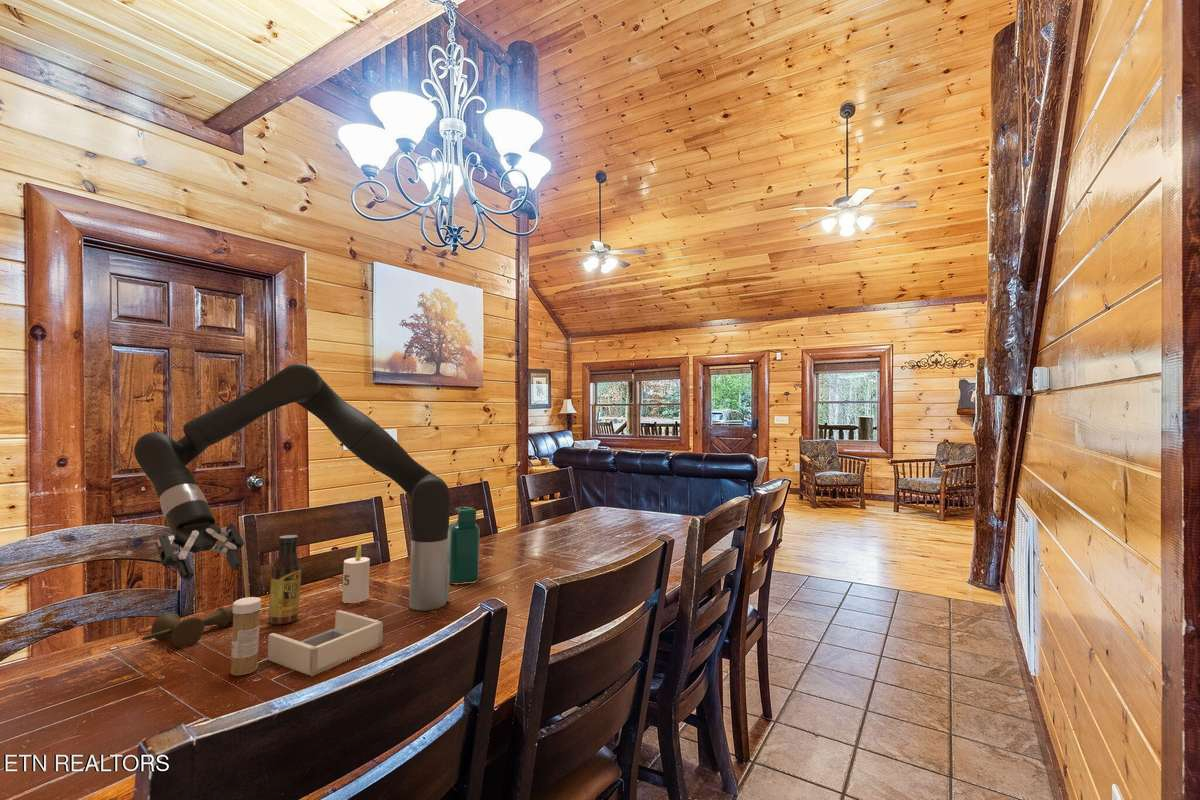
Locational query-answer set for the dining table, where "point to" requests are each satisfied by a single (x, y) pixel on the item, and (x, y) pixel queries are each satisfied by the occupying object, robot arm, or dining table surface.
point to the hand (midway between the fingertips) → (214, 572)
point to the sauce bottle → (285, 583)
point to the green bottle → (463, 547)
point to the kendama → (187, 626)
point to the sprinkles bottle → (245, 635)
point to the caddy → (327, 644)
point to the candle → (356, 578)
